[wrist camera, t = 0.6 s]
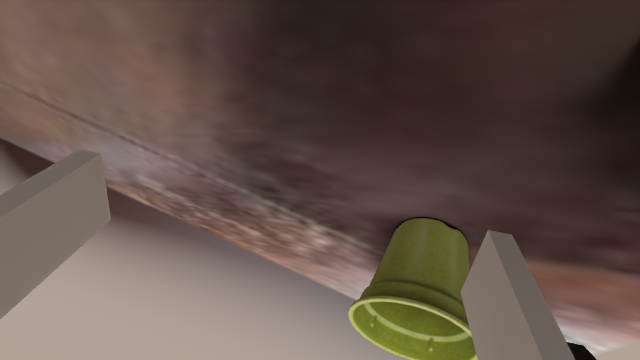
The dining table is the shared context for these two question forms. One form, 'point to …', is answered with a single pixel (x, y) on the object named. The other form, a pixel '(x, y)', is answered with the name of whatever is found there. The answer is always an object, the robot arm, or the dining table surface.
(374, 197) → the dining table surface
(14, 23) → the dining table surface
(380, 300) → the plant pot
